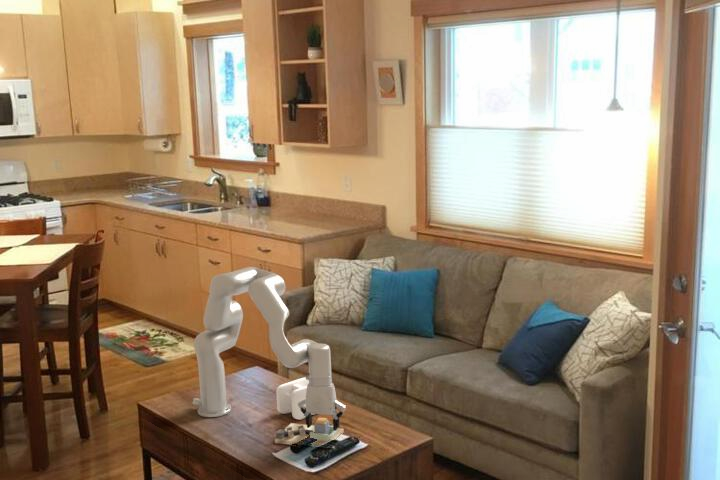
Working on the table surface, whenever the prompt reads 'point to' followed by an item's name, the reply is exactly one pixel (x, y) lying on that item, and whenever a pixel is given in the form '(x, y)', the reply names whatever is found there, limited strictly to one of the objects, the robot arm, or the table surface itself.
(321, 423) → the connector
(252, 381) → the table surface
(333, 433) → the bracket
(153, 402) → the table surface
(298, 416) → the cable organizer
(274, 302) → the robot arm
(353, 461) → the table surface
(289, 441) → the board
